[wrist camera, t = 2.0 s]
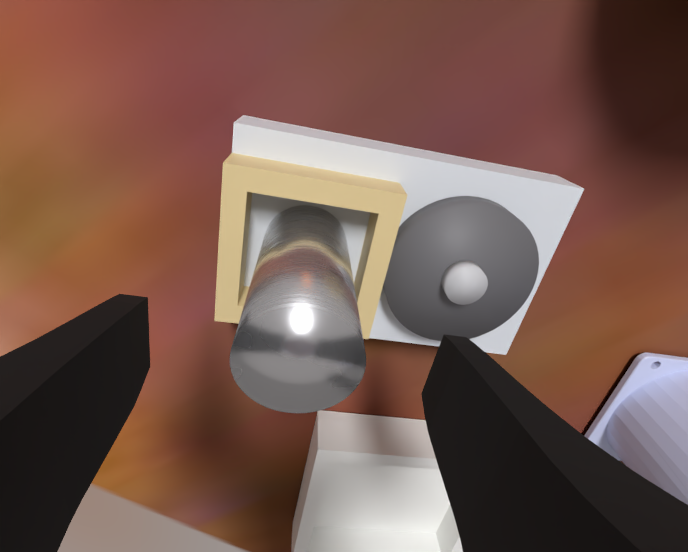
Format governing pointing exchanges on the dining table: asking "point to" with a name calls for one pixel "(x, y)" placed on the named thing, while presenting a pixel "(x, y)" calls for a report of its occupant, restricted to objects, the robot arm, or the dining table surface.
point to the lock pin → (300, 317)
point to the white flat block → (398, 229)
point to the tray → (372, 489)
